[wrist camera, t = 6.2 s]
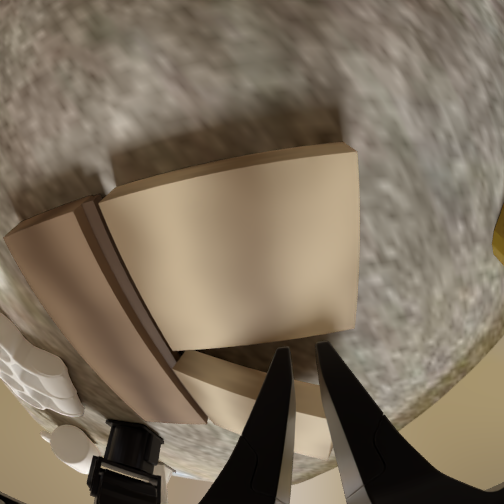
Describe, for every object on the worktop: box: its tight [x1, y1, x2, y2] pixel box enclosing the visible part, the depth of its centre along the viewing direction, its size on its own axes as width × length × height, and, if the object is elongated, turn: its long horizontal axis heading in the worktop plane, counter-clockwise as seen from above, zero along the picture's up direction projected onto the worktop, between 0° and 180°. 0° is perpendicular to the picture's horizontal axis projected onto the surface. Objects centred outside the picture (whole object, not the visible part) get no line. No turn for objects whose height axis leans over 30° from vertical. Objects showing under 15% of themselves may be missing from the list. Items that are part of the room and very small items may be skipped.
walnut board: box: [3, 194, 208, 424], centre depth 18 cm, size 8×22×2 cm, turn 11°
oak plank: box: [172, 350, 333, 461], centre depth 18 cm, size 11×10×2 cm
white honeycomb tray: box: [0, 312, 85, 417], centre depth 23 cm, size 3×18×15 cm
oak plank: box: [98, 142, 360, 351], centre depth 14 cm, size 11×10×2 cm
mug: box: [41, 425, 102, 474], centre depth 34 cm, size 12×10×8 cm
